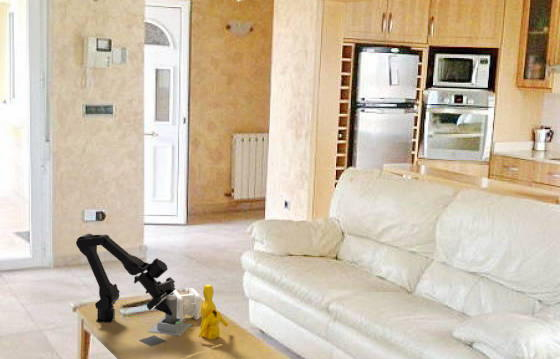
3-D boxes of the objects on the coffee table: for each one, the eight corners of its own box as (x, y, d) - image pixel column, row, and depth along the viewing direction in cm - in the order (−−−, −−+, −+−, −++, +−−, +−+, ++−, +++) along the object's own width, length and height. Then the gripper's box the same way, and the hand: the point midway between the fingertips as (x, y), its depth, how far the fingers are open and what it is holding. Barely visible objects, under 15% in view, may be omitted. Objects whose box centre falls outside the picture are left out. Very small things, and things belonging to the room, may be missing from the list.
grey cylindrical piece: (163, 326, 289) (164, 297, 287) (167, 322, 293) (168, 294, 291) (173, 328, 288) (174, 299, 285) (178, 324, 292) (179, 295, 290)
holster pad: (138, 341, 276) (138, 340, 276) (154, 336, 282) (154, 335, 282) (150, 347, 270) (150, 346, 270) (166, 342, 276) (166, 341, 276)
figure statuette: (202, 345, 275) (204, 293, 272) (188, 340, 280) (190, 289, 277) (231, 333, 289) (233, 284, 286) (217, 328, 294) (219, 279, 291)
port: (148, 332, 285) (148, 322, 285) (161, 321, 299) (162, 311, 298) (179, 337, 282) (180, 327, 282) (191, 325, 296) (192, 316, 295)
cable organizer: (200, 322, 300) (201, 297, 299) (177, 324, 296) (177, 299, 295) (191, 310, 314) (192, 286, 312) (169, 312, 310) (169, 288, 308)
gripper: (154, 279, 279) (178, 308, 278) (171, 267, 297) (194, 294, 296) (136, 295, 282) (160, 324, 281) (154, 282, 300) (177, 309, 299)
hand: (174, 312), depth 289 cm, fingers closed on grey cylindrical piece, 5 cm apart
